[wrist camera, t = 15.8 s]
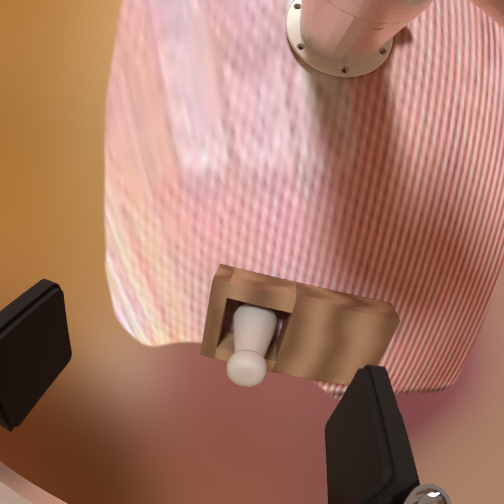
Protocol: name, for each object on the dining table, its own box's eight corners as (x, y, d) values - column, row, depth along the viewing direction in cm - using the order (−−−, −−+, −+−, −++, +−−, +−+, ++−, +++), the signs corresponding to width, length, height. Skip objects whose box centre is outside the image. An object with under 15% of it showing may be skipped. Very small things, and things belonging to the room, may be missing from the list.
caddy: (391, 303, 40) (400, 321, 36) (359, 367, 45) (364, 387, 41) (220, 264, 41) (212, 279, 37) (207, 335, 46) (200, 354, 41)
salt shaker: (227, 310, 43) (206, 373, 31) (255, 285, 42) (242, 346, 30) (257, 335, 45) (246, 402, 32) (286, 312, 43) (284, 378, 31)
